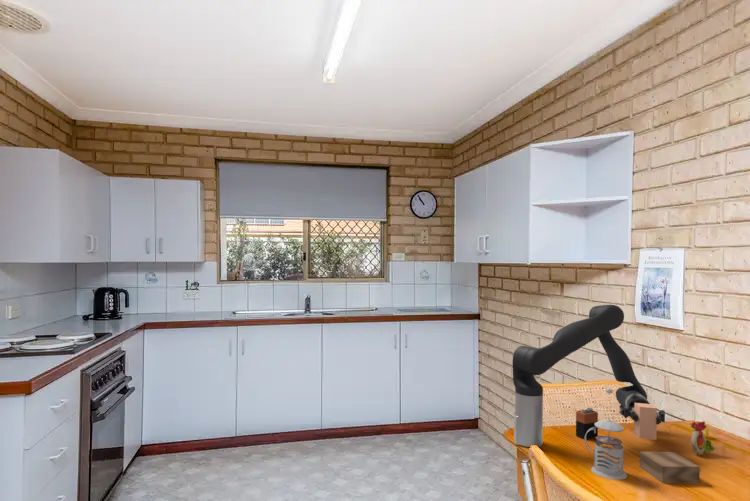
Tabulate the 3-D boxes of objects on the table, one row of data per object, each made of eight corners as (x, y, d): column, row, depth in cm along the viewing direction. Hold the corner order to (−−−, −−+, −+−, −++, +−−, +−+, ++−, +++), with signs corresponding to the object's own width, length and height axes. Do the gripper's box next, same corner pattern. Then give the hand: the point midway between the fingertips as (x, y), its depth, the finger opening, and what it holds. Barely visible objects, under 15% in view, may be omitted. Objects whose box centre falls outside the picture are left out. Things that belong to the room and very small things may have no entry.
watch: (689, 435, 179) (688, 418, 180) (693, 434, 180) (692, 418, 181) (706, 439, 174) (704, 422, 174) (710, 438, 175) (709, 421, 175)
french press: (625, 482, 136) (626, 394, 137) (582, 472, 143) (582, 388, 144) (628, 470, 145) (628, 387, 146) (587, 461, 151) (587, 382, 152)
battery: (598, 437, 173) (598, 409, 174) (585, 440, 171) (585, 411, 171) (588, 433, 177) (588, 406, 178) (575, 436, 174) (575, 408, 175)
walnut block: (662, 484, 137) (662, 466, 137) (639, 467, 148) (639, 451, 148) (699, 484, 137) (699, 466, 137) (674, 468, 148) (674, 451, 148)
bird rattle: (709, 464, 156) (717, 448, 161) (704, 436, 154) (712, 420, 159) (687, 458, 161) (696, 442, 166) (682, 430, 158) (691, 415, 164)
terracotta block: (639, 438, 153) (639, 406, 153) (634, 433, 158) (634, 402, 158) (656, 440, 152) (656, 408, 152) (650, 434, 157) (650, 404, 157)
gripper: (615, 393, 171) (622, 405, 155) (661, 398, 166) (673, 411, 150) (615, 414, 171) (621, 428, 155) (661, 420, 166) (672, 435, 150)
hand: (647, 419), depth 153 cm, fingers closed on terracotta block, 5 cm apart
